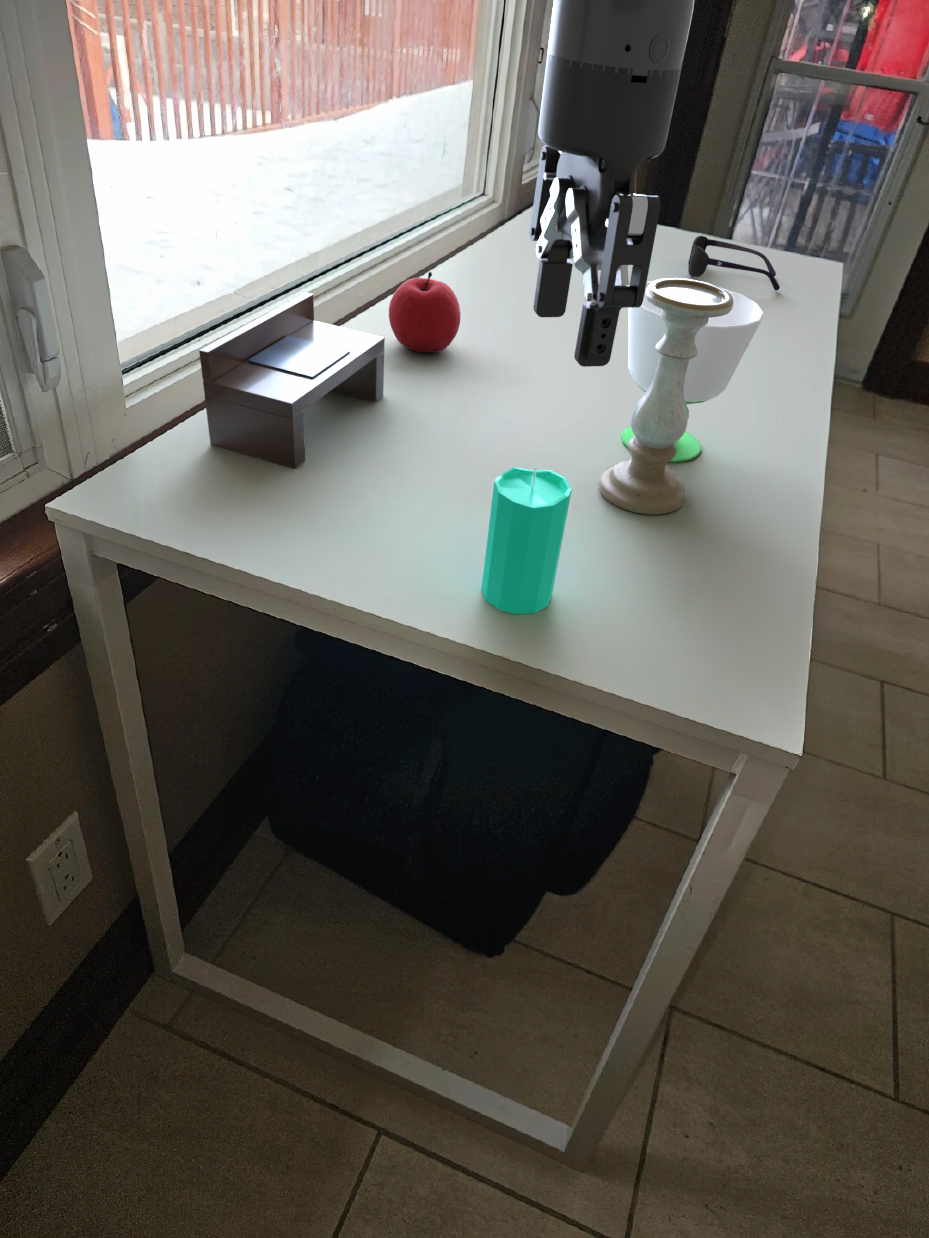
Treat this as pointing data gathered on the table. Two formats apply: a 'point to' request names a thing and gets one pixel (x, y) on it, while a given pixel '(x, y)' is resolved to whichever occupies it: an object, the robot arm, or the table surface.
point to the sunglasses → (701, 260)
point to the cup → (706, 371)
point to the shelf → (283, 379)
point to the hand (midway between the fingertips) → (568, 338)
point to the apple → (424, 314)
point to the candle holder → (664, 400)
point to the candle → (524, 539)
